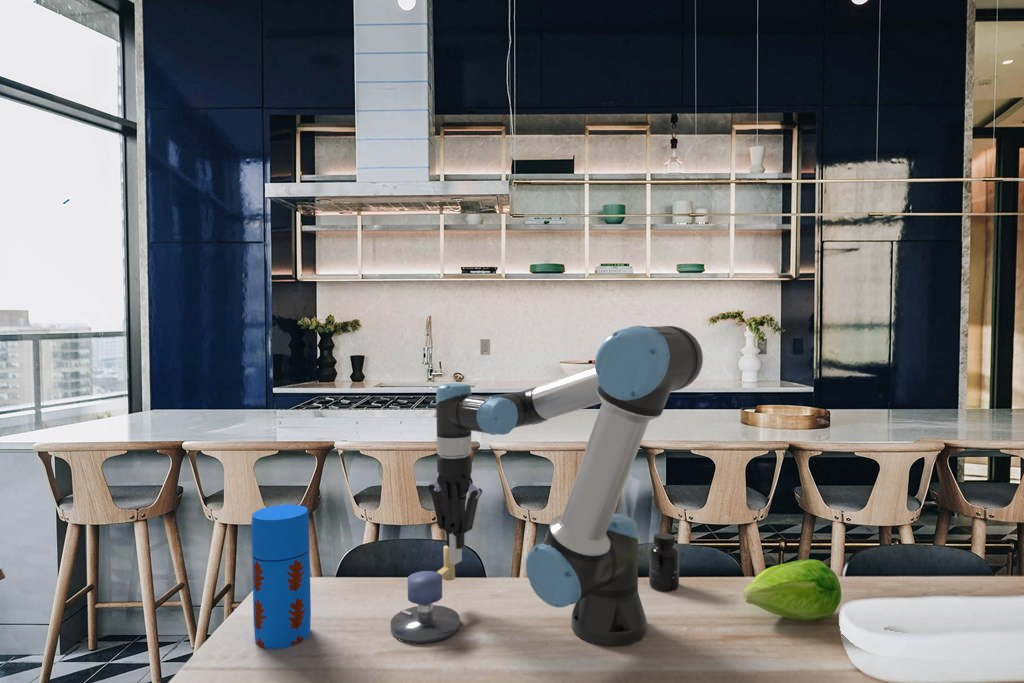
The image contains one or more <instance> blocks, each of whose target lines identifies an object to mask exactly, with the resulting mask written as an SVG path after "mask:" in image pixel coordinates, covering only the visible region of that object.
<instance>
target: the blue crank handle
mask: <svg viewBox="0 0 1024 683" xmlns="http://www.w3.org/2000/svg"><path fill="white" fill-rule="evenodd" d="M455 565H456V564H455ZM455 565H454V564H450V553H449V547H447V544H446V545H443V567H441V568H440V569H439V570H437V571H433V570H421V571H417V572H414V573H411V574H410V575H408V577H407V599H408V600H407V601H409V602H411V603H412V604H415V605H418V604H431V603H433V604H434V603H437V602H439V601H440V600H441V599H442V598H443V579H444V580H445V581H448V582H449V581H453V580H456V568H455Z"/></svg>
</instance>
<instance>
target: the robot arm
mask: <svg viewBox="0 0 1024 683" xmlns="http://www.w3.org/2000/svg"><path fill="white" fill-rule="evenodd" d="M595 356H596V357H595V360H594V365H593V366H591V367H588V368H585V369H582V370H580V371H576V372H574V373H571V374H569V375H565V376H562V377H560V378H556V379H554V380H552V381H549V382H546V383H543V384H540V385H538V386H535V387H531V388H529V389H525V390H522V391H516V392H510V393H509V392H508V393H503V394H494V395H474V394H472V390H471V386H470V384H468V383H444V384H439V385H438V387H437V388H436V395H435V396H436V398H435V399H436V400H435V409H436V410H435V411H436V412H435V413H436V414H435V415H436V417H435V418H436V454H437V455H438V456H437V458H436V471H437V474H438V476H437V477H436V481H435V482H433V483H431V484H429V485H427V488H428V492H429V493H430V496H431V498H432V502H433V507H434V512H435V517H436V522H437V526H438V528H439V529H440V530H444V531H445V533H446V534H445V535H446V545H447V547H449V553H450V564H454V565H457V564H459V563H460V562H462V561H463V558H462V557H463V554H462V553H463V550H462V549H463V548H464V547H465V534H466V533H467V532H470V531H471V530H473V528H474V527H473V526H474V523H475V517H476V513H477V512H476V511H477V507H478V504H479V503H478V502H479V499H480V496H481V495H482V494H483V490H482V488H480V487H479V488H477V487H476V486H475V484H474V482H473V479H472V476H471V475H472V472H473V470H472V469H473V464H472V463H473V462H472V456H471V453H472V432H476V433H477V432H478V433H484V434H489V435H492V436H497V435H508V434H509V433H510V432H512V430H514V429H516V428H519V427H526V426H531V425H532V426H533V425H538V424H542V423H543V422H546V421H548V420H550V419H553V418H556V417H560V416H564V415H566V414H570V413H572V412H575V411H576V412H577V411H579V410H583V409H586V408H589V407H592V406H595V405H599V404H601V405H600V408H599V410H598V413H597V416H596V419H595V422H594V424H593V428H592V431H591V433H590V436H589V439H588V441H587V444H586V446H585V450H584V452H583V454H582V455H583V456H582V458H581V461H580V464H579V466H578V470H577V472H576V475H575V478H574V480H573V482H572V483H573V484H572V486H571V488H570V492H569V494H568V497H567V500H566V504H565V506H564V509H563V511H562V514H561V515H557V516H555V517H553V519H552V520H550V524H549V526H548V530H547V532H546V534H545V537H544V540H543V541H542V542H541V543H537V544H535V545H534V547H532V548H531V549H530V550H529V551H528V553H527V555H526V558H525V572H526V573H525V574H526V577H527V579H528V580H529V583H530V587H531V588H532V590H533V591H534V593H535V594H536V596H537V597H538V598H539V599H540V600H542V601H543V602H544V603H546V604H547V605H549V606H551V607H555V608H566V607H568V606H570V605H574V606H573V610H572V613H571V629H572V631H573V633H574V634H575V635H576V636H577V637H579V638H580V639H582V640H583V641H587V642H589V643H593V644H596V645H602V646H609V647H611V646H612V647H613V646H616V647H617V646H627V645H631V644H635V643H636V642H639V641H640V640H643V639H644V637H645V636H646V634H647V633H648V632H647V631H648V630H647V629H648V628H647V625H648V624H647V623H648V622H647V621H648V620H647V616H646V613H645V609H644V606H643V604H642V600H641V597H640V595H639V540H640V539H639V538H640V537H639V534H638V533H639V531H638V525H637V522H636V521H635V520H634V519H633V518H631V517H629V516H626V515H622V514H619V513H615V511H616V508H617V506H618V503H619V500H620V498H621V495H622V493H623V490H624V489H625V488H624V487H625V485H626V483H627V480H628V477H629V474H630V473H631V469H632V467H633V464H634V462H635V459H636V457H637V454H638V451H639V449H640V446H641V443H642V440H643V439H644V435H645V434H646V431H647V427H648V426H649V423H650V421H651V420H654V419H657V418H660V417H661V415H662V414H663V412H664V409H665V406H666V403H667V401H668V398H669V396H670V394H671V392H674V391H675V392H676V391H679V390H680V391H681V390H682V389H684V388H686V387H687V388H688V386H690V385H691V384H692V383H693V382H694V381H695V380H697V378H698V376H699V375H700V373H701V371H702V368H703V362H704V355H703V349H702V347H701V344H700V343H699V342H698V339H697V338H696V337H695V336H694V335H693V334H692V333H691V332H689V331H687V330H686V329H684V328H682V327H679V326H675V325H664V326H663V325H662V326H660V325H659V326H646V325H636V326H635V325H634V326H633V325H632V326H629V327H627V328H626V327H625V328H622V329H619V330H617V331H614V332H613V333H611V334H610V335H609V336H608V337H607V338H606V339H605V340H603V342H602V343H601V345H600V346H599V348H598V350H597V353H596V355H595ZM467 496H468V497H467ZM466 501H467V502H466Z"/></svg>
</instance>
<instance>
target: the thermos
mask: <svg viewBox="0 0 1024 683" xmlns="http://www.w3.org/2000/svg"><path fill="white" fill-rule="evenodd" d="M310 549H311V548H310V516H309V510H308V508H307V507H306V506H303V505H299V504H279V505H272V506H268V507H267V506H266V507H264V508H260V509H258V510H256V511H254V512H253V513H252V515H251V557H252V558H251V561H252V562H251V565H252V569H251V570H252V602H253V603H252V604H253V606H252V610H253V628H254V630H253V631H254V641H255V642H254V643H255V644H256V645H257V646H258V647H261V648H264V649H270V650H271V649H272V650H276V649H277V650H278V649H285V648H290V647H294V646H296V645H298V644H301V643H302V642H304V641H303V640H304V639H305V640H307V638H309V636H310V634H311V623H312V622H311V620H312V619H311V617H312V613H311V612H312V610H311V609H312V607H311V603H312V601H311V599H312V598H311V558H310V557H311V556H310ZM308 635H309V636H308Z"/></svg>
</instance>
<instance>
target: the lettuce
mask: <svg viewBox="0 0 1024 683" xmlns="http://www.w3.org/2000/svg"><path fill="white" fill-rule="evenodd" d="M841 588H842V587H841V584H840V581H839V578H838V576H837V574H836V572H835V571H834V570H833V569H831V568H830V567H829V566H828V565H827V564H825V563H824V562H823V561H822V560H819V559H813V558H812V559H809V558H803V559H798V560H794V561H790V562H789V561H788V562H785V563H782V564H781V563H780V564H777V565H773V566H770V567H768V568H765V569H764V570H762V571H761V572H760V573H758V575H756V576H755V577H754V578H753V580H752V581H751V582H750V583H749V584H748V585H747V586H746V587H745V588H744V589H743V592H742V597H743V598H742V599H743V600H744V602H745V603H747V604H749V605H754V606H756V607H759V608H760V609H762V610H764V611H766V612H768V613H771V614H773V615H777V616H781V617H785V618H788V619H790V620H791V619H792V620H796V621H811V622H813V621H820V620H824V619H827V618H831V617H833V615H834V613H835V612H836V610H837V608H838V607H839V606H840V603H841V602H842V589H841Z"/></svg>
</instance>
